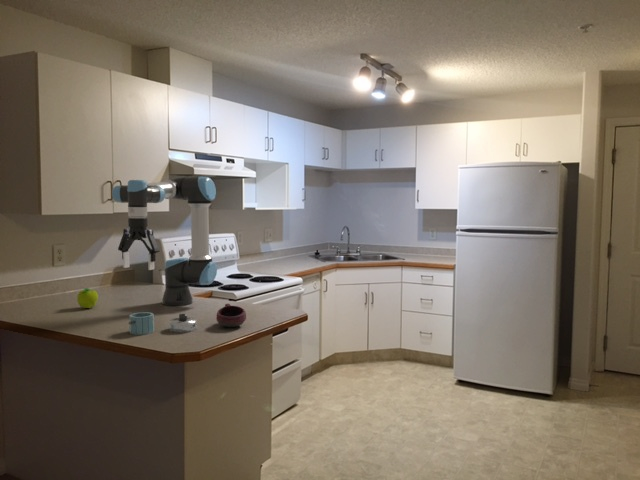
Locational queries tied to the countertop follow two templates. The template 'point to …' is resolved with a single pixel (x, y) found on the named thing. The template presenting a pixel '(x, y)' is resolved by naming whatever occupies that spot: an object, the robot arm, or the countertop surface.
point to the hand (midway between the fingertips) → (138, 268)
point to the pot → (141, 323)
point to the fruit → (87, 298)
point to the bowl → (231, 316)
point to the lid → (183, 324)
